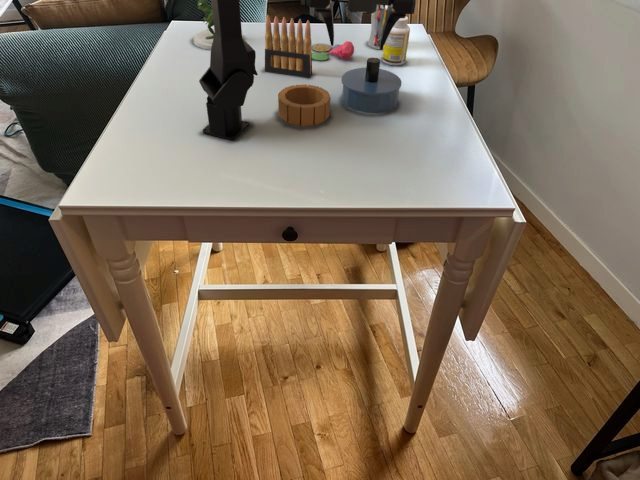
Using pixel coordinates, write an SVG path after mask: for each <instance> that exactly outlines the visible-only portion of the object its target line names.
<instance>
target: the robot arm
mask: <svg viewBox="0 0 640 480" xmlns="http://www.w3.org/2000/svg"><path fill="white" fill-rule="evenodd" d="M416 2H417V0H307V7H309V8H312V9H313V8H314V12H315V13H319V14H320V15H321V16H322V18H323V21H324V23H325V27H326V30H327V31H326V32H327V34H328V38H329V42H330V47H333V46H334V45H335V43H334V41H335V25H334V6H333V3H346V4H347V10H348V12H350V13H358V12H359V13H367V14H370V15H371V14H372V13H375V12H376V8H377V5H388V8H387V12H386V17H385V21H384V26H383V30H382V35H381V40H380V49H379V50H383V49H382V48H383V46H384V44H385V42H386V40H387V38H388V36H389V34H390V32H391V30H392V28H393V26H394V25H395V23H396V22H397V21H398V20H399V19H400V18H405V17H406V16H407V15H414V14H415V10H416ZM210 3H211V4H212V12H213V21H214V26H213V29H214V30H215V35H214V39H213V43H212V47H211V49H210V58H209V60H210V61H209V62H210V63H209V67H208V68H207V70H205V72H204V73H203V74H202V76H201V77H200V78H199V80H198V83H199V84H200V86H201V88H202V90H203V92H204V93H206V95H207V96H206V103H205V106H206V113H207V120H208V125H206V126H205V127H204V128H203V129H202V133H203V134H205V135H209V136H214V137H216V138H217V137H218V138H222V139H224V140H225V139H226V140H229V141H234V140H236V139H237V138H238V137H239V136H240V135H241V134H242V133H243V132H244V131H245V130H246V129H247V128H248V127H249V126H250V122H249V121H246V120H243V114H242V107H243V106H244V105H245V101H246V98H247V94H248V92H249V90H250V89H251V87H253V85H254V82H255V76H258V71H257V70H256V58H257V56H256V50H255V49H254V48H253V47H252V46H251V45H250V44H249V43H248V42H247V41H246V40H245V39H244V38H243V32H242V29H243V28H242V17H241V16H242V15H241V5H240V0H210Z"/></svg>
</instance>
